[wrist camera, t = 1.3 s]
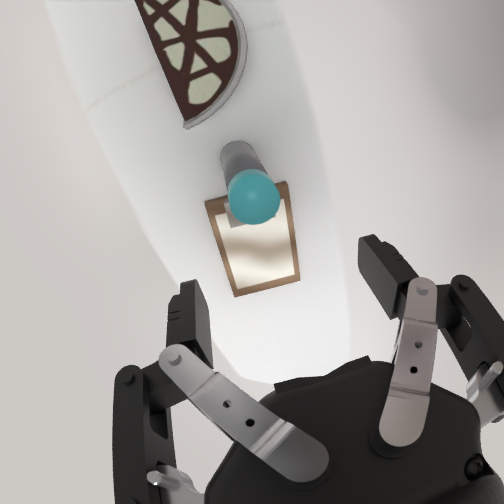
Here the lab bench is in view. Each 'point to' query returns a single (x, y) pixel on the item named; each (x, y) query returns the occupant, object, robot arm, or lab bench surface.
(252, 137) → the lab bench surface
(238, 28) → the food container
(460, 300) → the robot arm
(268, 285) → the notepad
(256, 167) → the marker
